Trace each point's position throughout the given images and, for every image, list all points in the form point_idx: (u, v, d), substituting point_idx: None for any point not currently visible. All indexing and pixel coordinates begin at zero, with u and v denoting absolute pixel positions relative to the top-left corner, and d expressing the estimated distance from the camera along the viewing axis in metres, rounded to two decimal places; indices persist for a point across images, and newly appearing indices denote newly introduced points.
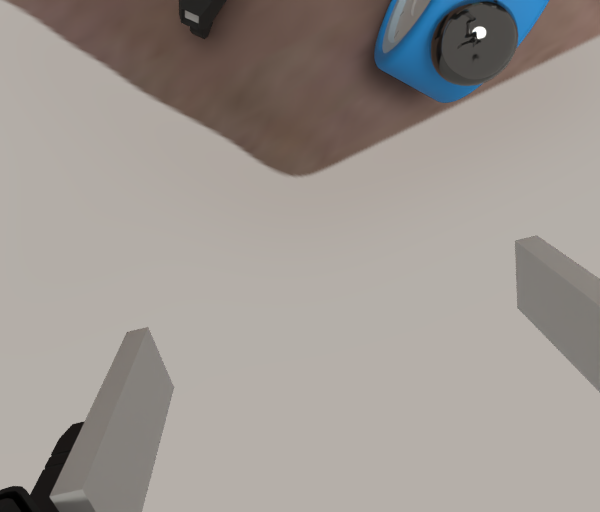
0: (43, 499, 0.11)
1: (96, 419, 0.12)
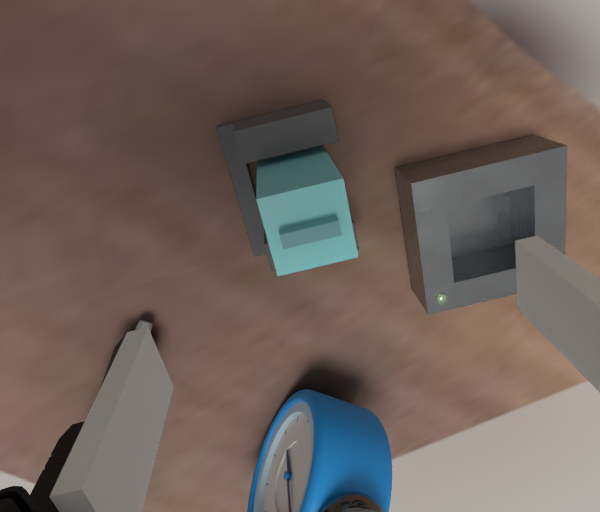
0: (43, 498, 0.11)
1: (96, 419, 0.12)
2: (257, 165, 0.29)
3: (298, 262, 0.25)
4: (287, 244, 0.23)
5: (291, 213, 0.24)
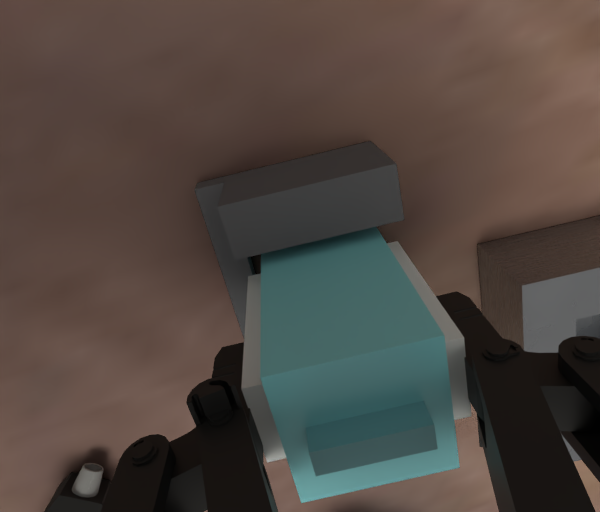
0: None
1: (254, 337, 0.14)
2: (262, 256, 0.17)
3: (342, 480, 0.13)
4: (325, 468, 0.11)
5: (332, 400, 0.11)
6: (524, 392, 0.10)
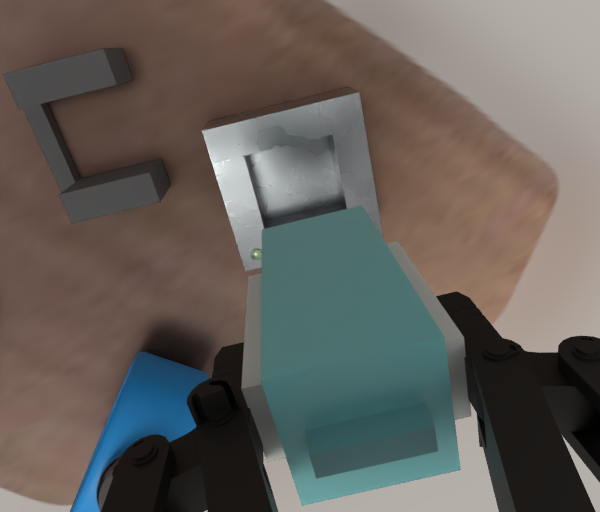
0: None
1: (254, 337, 0.14)
2: (262, 258, 0.17)
3: (343, 482, 0.13)
4: (326, 471, 0.11)
5: (333, 402, 0.11)
6: (524, 392, 0.10)
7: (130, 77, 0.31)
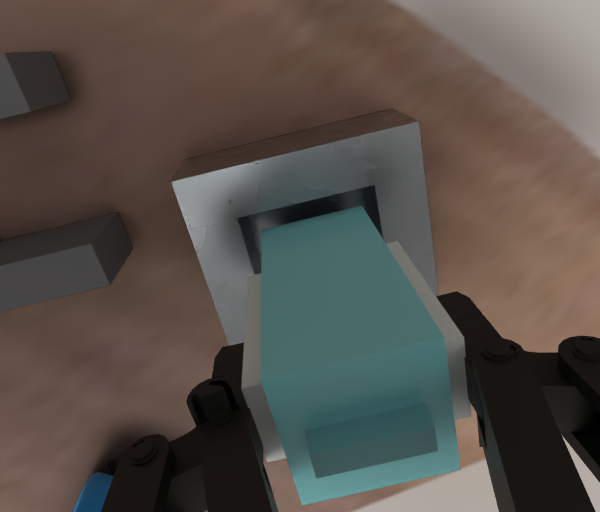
0: None
1: (254, 337, 0.14)
2: (262, 258, 0.17)
3: (343, 482, 0.13)
4: (325, 471, 0.11)
5: (333, 402, 0.11)
6: (524, 392, 0.10)
7: (65, 96, 0.20)
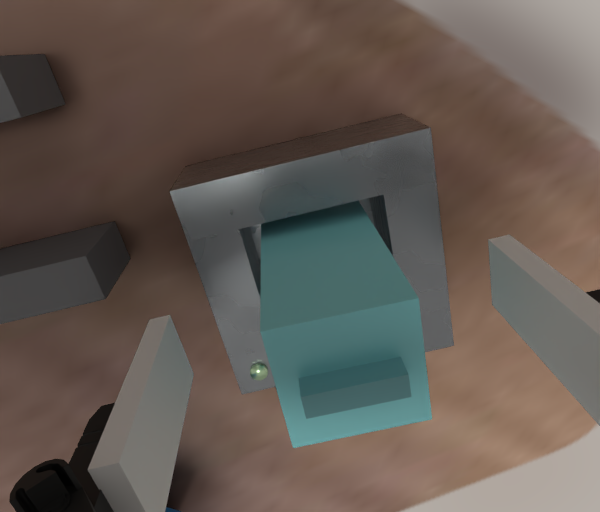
0: (79, 474, 0.12)
1: (126, 399, 0.13)
2: (262, 237, 0.19)
3: (329, 427, 0.14)
4: (314, 412, 0.13)
5: (322, 353, 0.13)
6: None
7: (59, 100, 0.19)
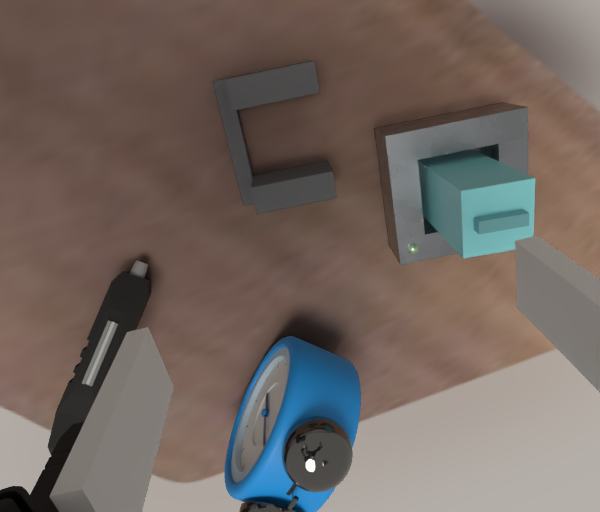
0: (43, 498, 0.11)
1: (96, 419, 0.12)
2: (427, 166, 0.34)
3: (483, 247, 0.29)
4: (483, 230, 0.28)
5: (486, 204, 0.28)
6: None
7: None
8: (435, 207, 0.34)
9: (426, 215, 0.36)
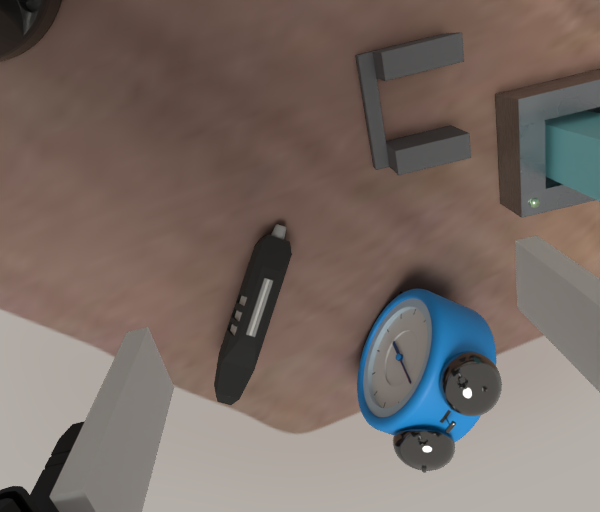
0: (43, 499, 0.11)
1: (96, 419, 0.12)
2: (551, 126, 0.38)
3: None
4: None
5: None
6: None
7: None
8: (560, 162, 0.38)
9: None
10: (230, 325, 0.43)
